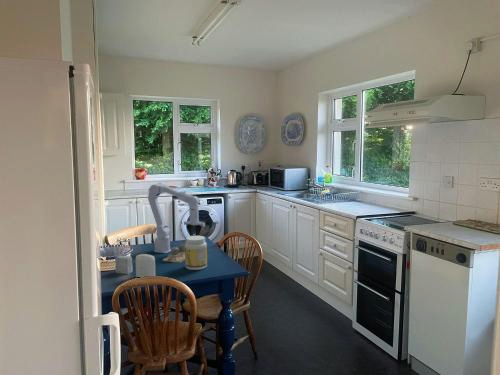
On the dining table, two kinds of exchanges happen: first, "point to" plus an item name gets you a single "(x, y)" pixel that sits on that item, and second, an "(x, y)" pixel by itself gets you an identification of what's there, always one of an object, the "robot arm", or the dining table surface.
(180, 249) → the grey ball
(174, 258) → the board
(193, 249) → the supplement tub
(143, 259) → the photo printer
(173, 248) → the plug
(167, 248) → the robot arm
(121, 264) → the medicine box
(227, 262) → the dining table surface
